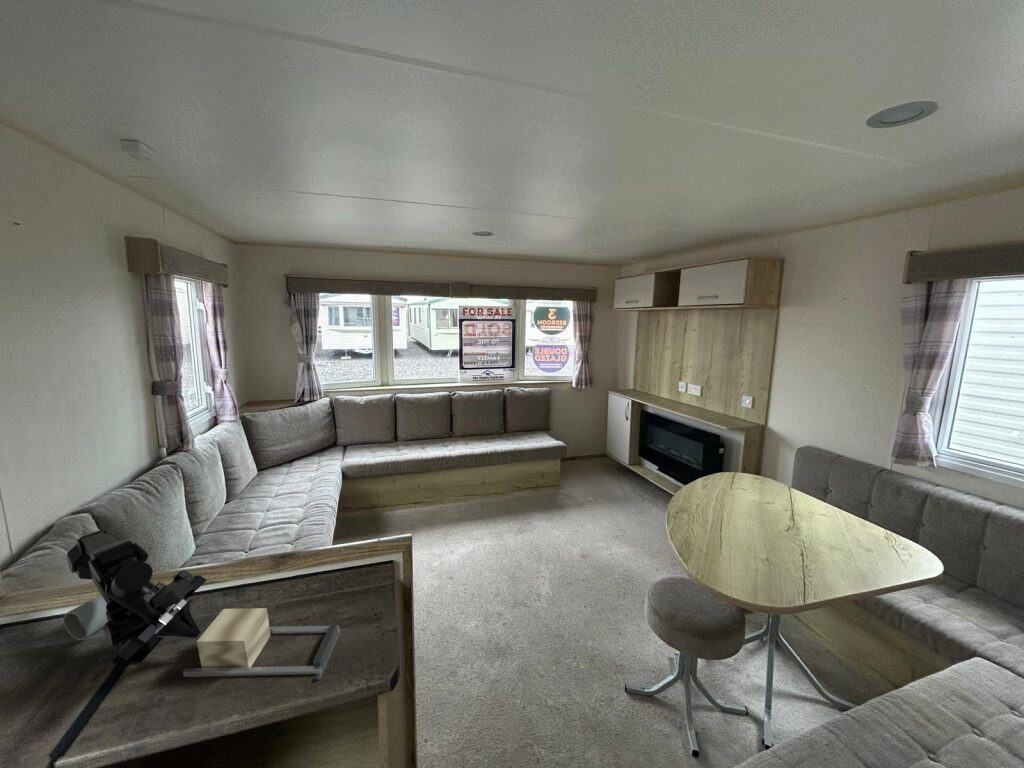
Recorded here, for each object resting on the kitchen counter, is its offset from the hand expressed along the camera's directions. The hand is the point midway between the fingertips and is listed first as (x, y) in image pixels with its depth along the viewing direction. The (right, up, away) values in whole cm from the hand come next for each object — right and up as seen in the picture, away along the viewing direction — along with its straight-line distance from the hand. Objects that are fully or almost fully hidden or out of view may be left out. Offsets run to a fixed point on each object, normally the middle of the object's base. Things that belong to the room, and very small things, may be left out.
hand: (198, 635), depth 91 cm
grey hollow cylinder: (-34, -4, +9) cm, 35 cm away
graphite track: (+14, -7, +3) cm, 16 cm away
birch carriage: (+8, -5, +2) cm, 10 cm away
